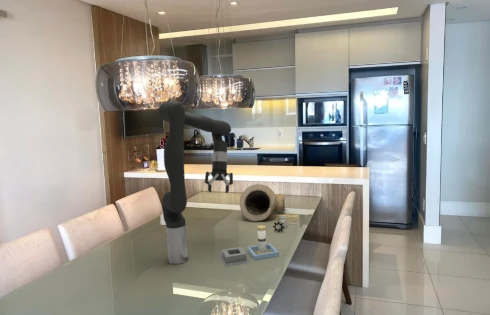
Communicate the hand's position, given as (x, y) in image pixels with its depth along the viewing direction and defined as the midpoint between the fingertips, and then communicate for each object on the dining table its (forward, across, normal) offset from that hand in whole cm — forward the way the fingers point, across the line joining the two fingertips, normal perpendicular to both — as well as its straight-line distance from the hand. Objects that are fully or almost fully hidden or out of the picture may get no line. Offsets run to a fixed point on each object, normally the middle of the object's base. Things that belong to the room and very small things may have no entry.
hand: (218, 192), depth 189 cm
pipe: (+14, +41, +49) cm, 66 cm away
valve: (+20, +42, +18) cm, 50 cm away
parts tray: (+30, +20, -15) cm, 39 cm away
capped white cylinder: (+29, +20, -15) cm, 38 cm away
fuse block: (+32, +6, -15) cm, 35 cm away
